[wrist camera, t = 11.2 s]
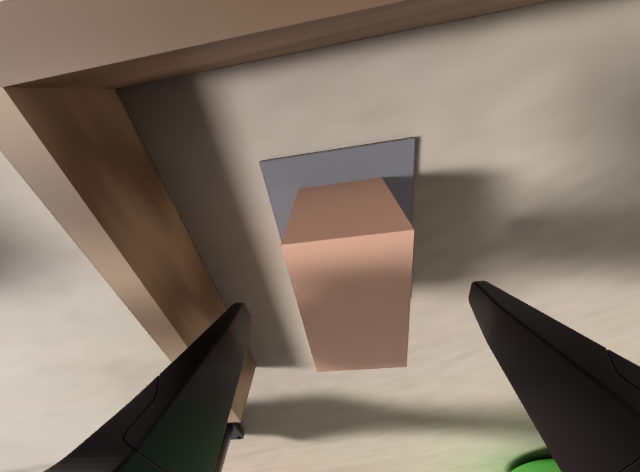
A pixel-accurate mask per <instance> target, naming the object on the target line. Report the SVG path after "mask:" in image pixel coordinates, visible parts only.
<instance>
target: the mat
mask: <svg viewBox="0 0 640 472" xmlns="http://www.w3.org/2000/svg"><path fill="white" fill-rule="evenodd" d="M414 150H415V138H414V137H411V138H404V139H398V140H391V141H385V142H379V143H372V144H366V145H359V146H353V147H346V148H340V149H333V150H327V151H321V152H314V153H308V154H301V155H295V156H288V157H282V158H275V159H269V160H263V161H260V162H259V163H260V166H261V170H262V174H263V177H264V181H265V184H266V188H267V191H268V195H269V198H270V202H271V205H272V209H273V213H274V216H275V220H276V223H277V227H278V230H279V234H280V237H281V241H282V240H283V237H284V233H285V230H286V227H287V224H288V221H289V217H290V214H291V211H292V208H293V205H294V201H295V198H296V195H297V192H298V189H301V188H308V187H315V186H322V185H329V184H337V183H344V182H351V181H358V180H365V179H373V178H380V177H382V179H383V180H384V182H385V184H386V185H387V187H388V188H389V190H390V192H391V193H392V195H393V196H394V198H395V200H396V201H397V203H398V204H399V206H400V208H401V209H402V211H403V212H404V214H405V216H406V217H407V219H408V220H409V222H410V224H411V215H412V193H413V172H414Z"/></svg>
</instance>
